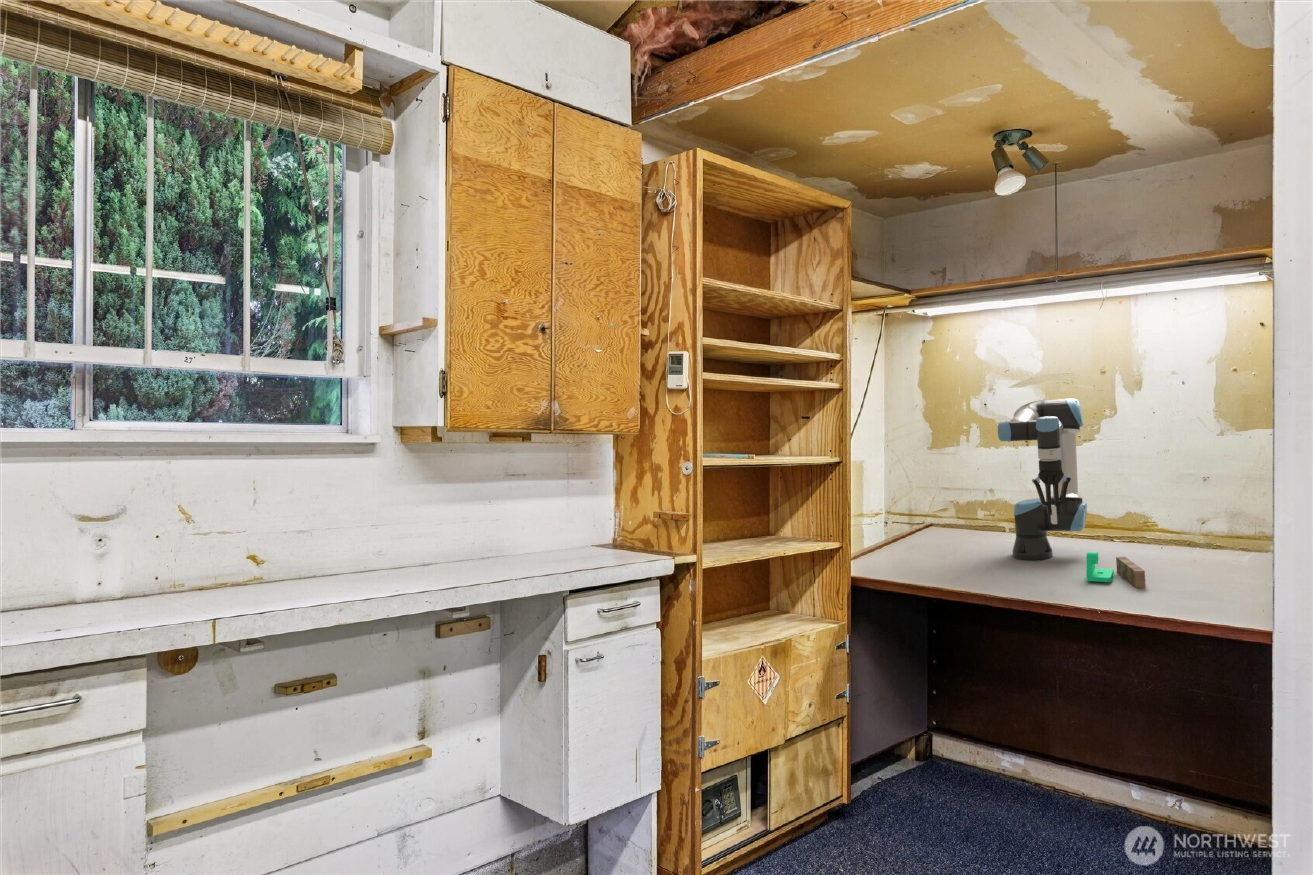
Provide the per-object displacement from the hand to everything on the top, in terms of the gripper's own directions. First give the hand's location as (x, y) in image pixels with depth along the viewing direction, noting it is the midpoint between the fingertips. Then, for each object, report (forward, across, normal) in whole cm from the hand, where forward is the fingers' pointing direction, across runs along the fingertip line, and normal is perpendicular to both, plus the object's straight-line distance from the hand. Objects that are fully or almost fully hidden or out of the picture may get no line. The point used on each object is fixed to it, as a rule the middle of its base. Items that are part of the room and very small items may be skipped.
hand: (1054, 523), depth 303 cm
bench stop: (+22, +24, -1) cm, 33 cm away
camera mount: (+23, +15, +1) cm, 27 cm away
